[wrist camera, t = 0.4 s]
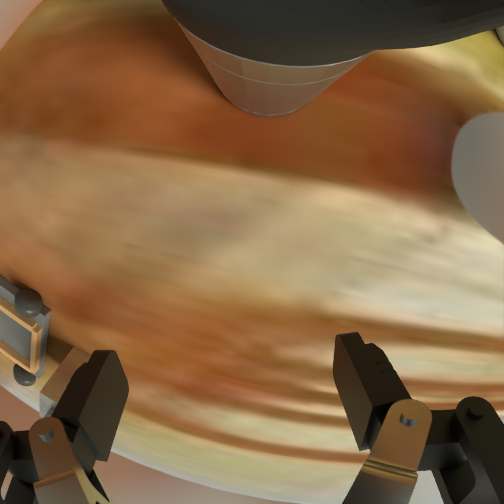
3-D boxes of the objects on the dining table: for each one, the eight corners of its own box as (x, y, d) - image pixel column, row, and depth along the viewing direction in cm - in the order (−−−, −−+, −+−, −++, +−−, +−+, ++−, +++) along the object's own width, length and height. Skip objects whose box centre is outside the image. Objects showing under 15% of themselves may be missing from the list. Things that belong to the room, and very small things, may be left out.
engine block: (69, 371, 34) (34, 424, 24) (74, 346, 33) (33, 401, 23) (102, 389, 35) (72, 446, 25) (109, 365, 34) (75, 426, 24)
